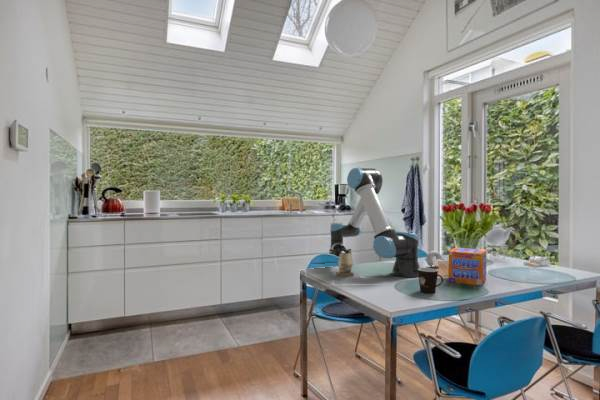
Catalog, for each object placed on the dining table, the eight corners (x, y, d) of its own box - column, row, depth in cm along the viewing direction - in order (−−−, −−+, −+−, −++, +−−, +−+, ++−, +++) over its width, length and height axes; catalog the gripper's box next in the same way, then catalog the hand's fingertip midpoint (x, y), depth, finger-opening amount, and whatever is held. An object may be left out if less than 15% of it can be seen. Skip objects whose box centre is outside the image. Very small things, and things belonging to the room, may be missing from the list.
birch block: (349, 264, 198) (351, 253, 188) (350, 274, 194) (352, 263, 185) (338, 264, 198) (340, 253, 188) (338, 274, 194) (341, 263, 185)
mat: (356, 273, 201) (356, 269, 201) (362, 280, 185) (362, 275, 185) (327, 273, 200) (327, 269, 200) (331, 280, 184) (331, 275, 184)
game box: (482, 286, 174) (482, 253, 174) (448, 281, 182) (448, 251, 182) (486, 279, 187) (486, 249, 187) (454, 276, 195) (454, 247, 195)
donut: (440, 266, 220) (440, 250, 220) (443, 267, 217) (443, 250, 217) (424, 267, 219) (425, 250, 218) (427, 268, 215) (428, 251, 215)
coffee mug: (414, 289, 168) (414, 267, 167) (432, 289, 168) (432, 267, 168) (425, 296, 156) (425, 273, 156) (444, 296, 157) (444, 273, 157)
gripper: (349, 255, 216) (356, 262, 192) (328, 256, 216) (331, 262, 192) (349, 243, 216) (356, 247, 193) (327, 243, 216) (331, 248, 192)
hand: (343, 255), depth 192 cm, fingers closed
